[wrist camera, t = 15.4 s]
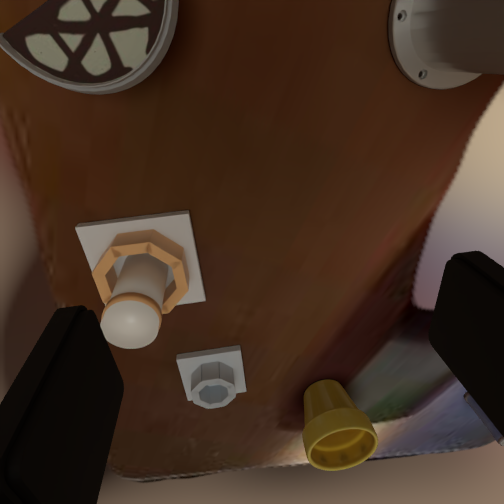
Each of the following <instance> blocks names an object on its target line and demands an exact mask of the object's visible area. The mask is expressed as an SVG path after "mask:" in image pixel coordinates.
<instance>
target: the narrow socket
mask: <svg viewBox="0 0 504 504" xmlns="http://www.w3.org/2000/svg"><path fill="white" fill-rule="evenodd" d="M177 363H178V367H179V370H180V374H181V378H182V381H183V385H184V388H185V392H186V395H187V399H188V401H190V400H193V403H195V404H197V405H199V406H202V407H204V408H207V409H208V408H209V409H211V408H217V407H223V406H226V405H227V404H228V403H229V402H230V401H231V400H233V399H234V398H235V397H236V393H241V392H246V385H245V378H244V370H243V363H242V356H241V349H240V345H237V346H230V347H223V348H217V349H210V350H203V351H197V352H190V353H183V354H177Z"/></svg>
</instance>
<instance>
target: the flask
mask: <svg viewBox="0 0 504 504" xmlns="http://www.w3.org/2000/svg"><path fill="white" fill-rule="evenodd" d="M465 396H466V397H465ZM464 398H465V400H466V401H467V403H468V404H469V405H470V406H471V408H472V409H473V410H474V411H475V413H476V414H477V415H478V417H479V418H480V419H481V420H482V422H483V423H484V424H485V426H486V427H487V428H488V430H489V431H490V432H491V434H492V435H493V437H494V438H495V440H496V441H497V442H498V443H499V444H500V445H501V446H504V437H503V436H502V435H501V433H500V432H499V431H498V430H497V428H496V427H495V426H494V424H493V423H492V422H491V421H490V419H489V418H488V417H487V416H486V414H485V413H484V412H483V410H482V409H481V408H480V407H479V405H478V404H477V403H476V402H475V400H474V399H473V398H472V396H471V395H470V394H469V393H468V392H466V393H465V394H464Z"/></svg>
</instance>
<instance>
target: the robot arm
mask: <svg viewBox="0 0 504 504" xmlns="http://www.w3.org/2000/svg"><path fill="white" fill-rule="evenodd" d="M398 14H399V15H400V18H399V20H398V18H397V16H398ZM388 33H389V43H390V48H391V52H392V55H393V57H394V60H395V63H396V64H397V66H398V67H399V69H400V70H401V72H402V73H403V74H404V75H405V76H406V77H407V78H408V79H409V80H410V81H412V82H414V83H415V84H417V85H419V86H422V87H426V88H430V89H450V88H455V87H458V86H461V85H464V84H466V83H468V82H470V81H472V80H474V79H476V78H477V77H479V76H480V75H481V74H483V73H484V74H502V75H504V0H392V3H391V7H390V14H389V21H388ZM419 72H420V75H419ZM428 335H429V341H430V343H431V345H432V347H433V348H434V349H435V351H436V352H437V353H438V354H439V356H440V357H441V358H442V360H443V361H444V362H445V363H446V365H447V366H448V367H449V368H450V370H451V371H452V372H453V374H454V375H455V376H456V377H457V379H458V380H459V381H460V382H461V384H462V385H463V386H464V388H465V389H466V390H467V391H468V393H469V394H470V395H471V396H472V398H473V399H474V400H475V402H476V403H477V404H478V405H479V407H480V408H481V409H482V410H483V412H484V413H485V414H486V416H487V417H488V418H489V419H490V421H491V422H492V423H493V424H494V426H495V427H496V428H497V430H498V431H499V432H500V433H501V435H502V436H503V437H504V268H503V267H502V266H501V265H499V264H498V263H496V262H495V261H494V260H492V259H490V258H489V257H488V256H487V255H485V254H484V253H482V252H480V251H471V252H464V253H457V254H454V255H453V256H452V257H451V260H449V261H447V263H446V265H445V269H444V273H443V277H442V281H441V285H440V290H439V293H438V297H437V301H436V305H435V309H434V313H433V317H432V321H431V325H430V329H429V334H428ZM123 392H124V384H123V380H122V377H121V375H120V372H119V370H118V368H117V365H116V363H115V360H114V358H113V356H112V353H111V351H110V348H109V346H108V343H107V341H106V339H105V336H104V334H103V331H102V329H101V327H100V324H99V322H98V319H97V317H96V315H95V313H94V311H93V310H87V308H86V307H85V306H82V305H80V306H73V307H66V308H59V309H57V310H56V311H55V313H54V314H53V316H52V318H51V320H50V321H49V323H48V325H47V326H46V328H45V330H44V331H43V333H42V335H41V336H40V338H39V340H38V341H37V343H36V345H35V347H34V348H33V350H32V352H31V353H30V355H29V357H28V358H27V360H26V362H25V363H24V365H23V367H22V368H21V370H20V372H19V373H18V375H17V377H16V379H15V380H14V382H13V384H12V385H11V387H10V389H9V391H8V392H7V394H6V395H5V397H4V399H3V401H2V402H1V404H0V504H97V499H98V495H99V491H100V487H101V483H102V479H103V475H104V471H105V467H106V463H107V459H108V454H109V450H110V446H111V442H112V438H113V434H114V430H115V426H116V422H117V418H118V414H119V409H120V405H121V401H122V397H123Z"/></svg>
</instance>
